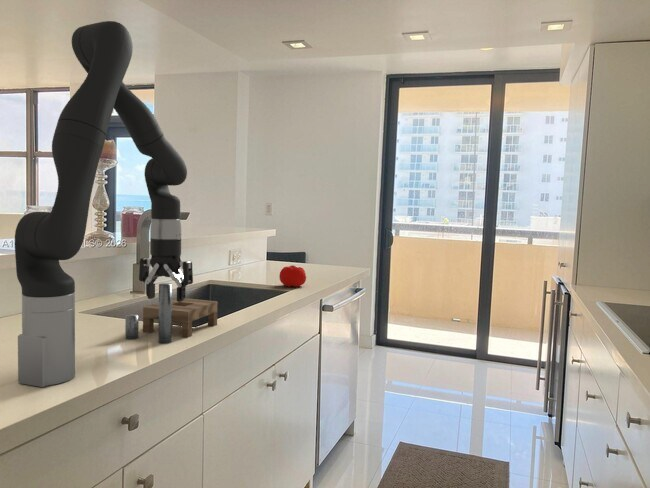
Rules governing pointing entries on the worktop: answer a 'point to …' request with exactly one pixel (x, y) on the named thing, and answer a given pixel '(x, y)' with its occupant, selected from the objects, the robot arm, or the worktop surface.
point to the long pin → (165, 313)
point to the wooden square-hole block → (182, 314)
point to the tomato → (292, 276)
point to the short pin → (131, 326)
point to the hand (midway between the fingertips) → (165, 299)
